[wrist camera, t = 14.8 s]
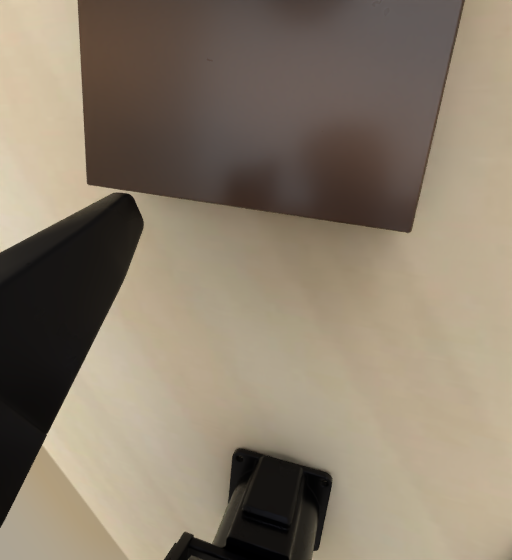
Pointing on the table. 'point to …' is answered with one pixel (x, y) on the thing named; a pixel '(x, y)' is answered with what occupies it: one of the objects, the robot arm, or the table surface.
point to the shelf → (267, 102)
